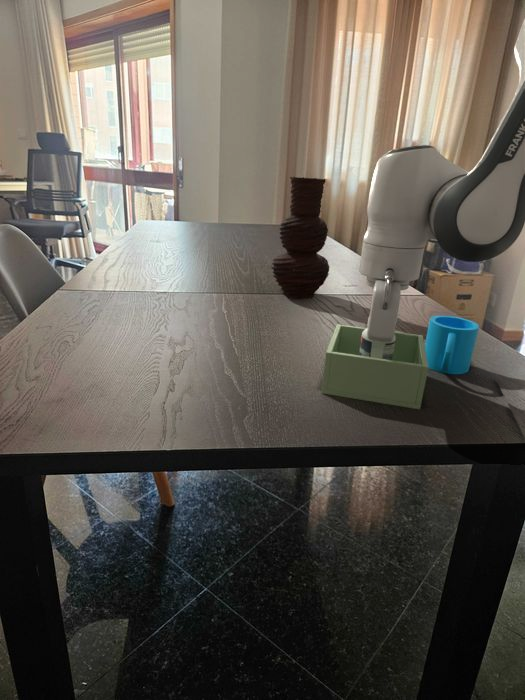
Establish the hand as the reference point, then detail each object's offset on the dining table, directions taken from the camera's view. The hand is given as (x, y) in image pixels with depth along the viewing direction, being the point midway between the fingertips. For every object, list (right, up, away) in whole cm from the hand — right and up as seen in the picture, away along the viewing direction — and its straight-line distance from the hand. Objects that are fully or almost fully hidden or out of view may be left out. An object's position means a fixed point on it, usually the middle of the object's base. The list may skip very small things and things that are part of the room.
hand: (376, 349), depth 75 cm
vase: (-9, +15, +53) cm, 55 cm away
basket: (0, -5, +2) cm, 6 cm away
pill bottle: (0, -4, +1) cm, 4 cm away
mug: (+14, -4, +9) cm, 18 cm away
